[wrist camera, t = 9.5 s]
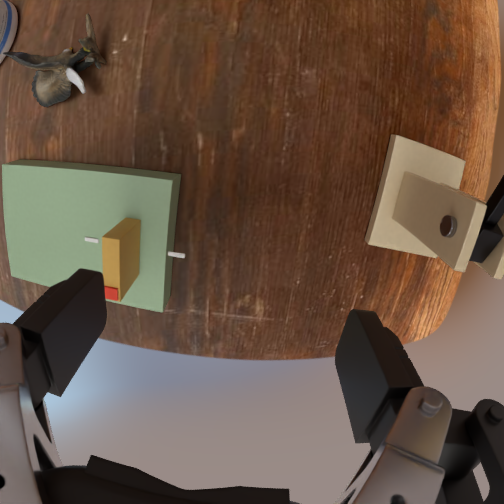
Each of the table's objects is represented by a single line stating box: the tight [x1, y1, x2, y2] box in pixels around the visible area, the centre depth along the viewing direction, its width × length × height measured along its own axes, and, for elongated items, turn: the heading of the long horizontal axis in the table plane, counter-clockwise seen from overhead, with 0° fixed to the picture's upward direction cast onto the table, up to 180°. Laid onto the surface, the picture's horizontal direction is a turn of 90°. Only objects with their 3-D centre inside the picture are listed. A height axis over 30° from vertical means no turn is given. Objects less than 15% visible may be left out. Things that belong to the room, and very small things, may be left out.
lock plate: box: [2, 159, 185, 312], centre depth 27 cm, size 20×12×3 cm, turn 80°
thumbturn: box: [102, 218, 141, 302], centre depth 23 cm, size 5×1×5 cm, turn 170°
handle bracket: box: [365, 134, 504, 280], centre depth 21 cm, size 10×8×12 cm
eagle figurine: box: [3, 14, 106, 107], centre depth 19 cm, size 8×7×9 cm
